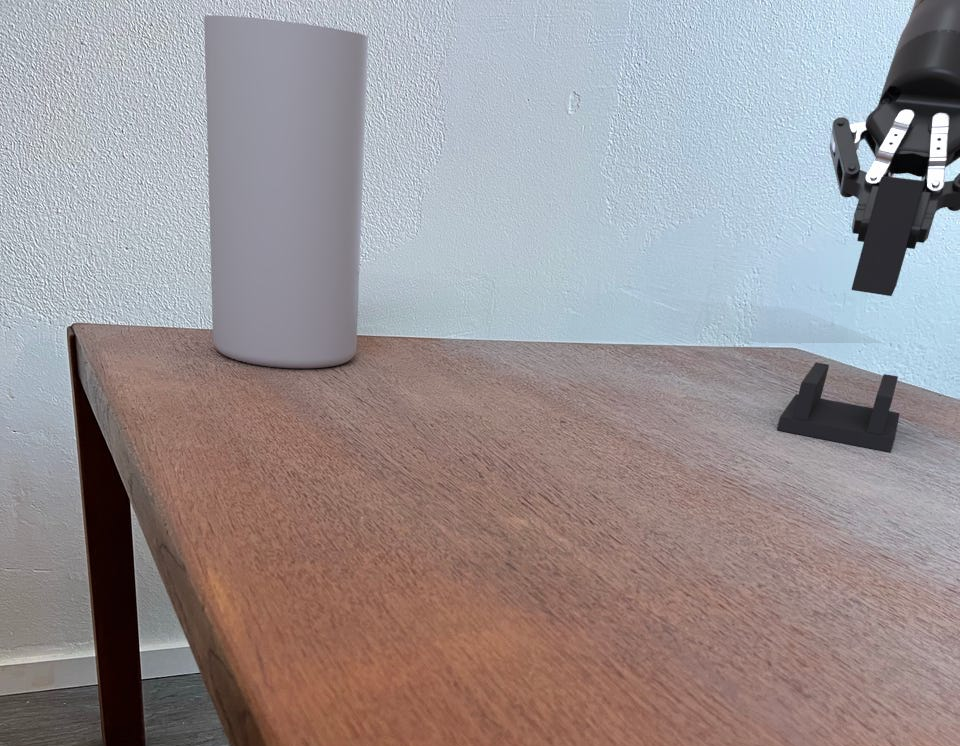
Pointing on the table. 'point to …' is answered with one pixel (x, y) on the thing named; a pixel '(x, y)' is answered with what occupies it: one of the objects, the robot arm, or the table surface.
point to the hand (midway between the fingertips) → (888, 236)
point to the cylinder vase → (285, 189)
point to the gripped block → (887, 235)
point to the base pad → (841, 414)
